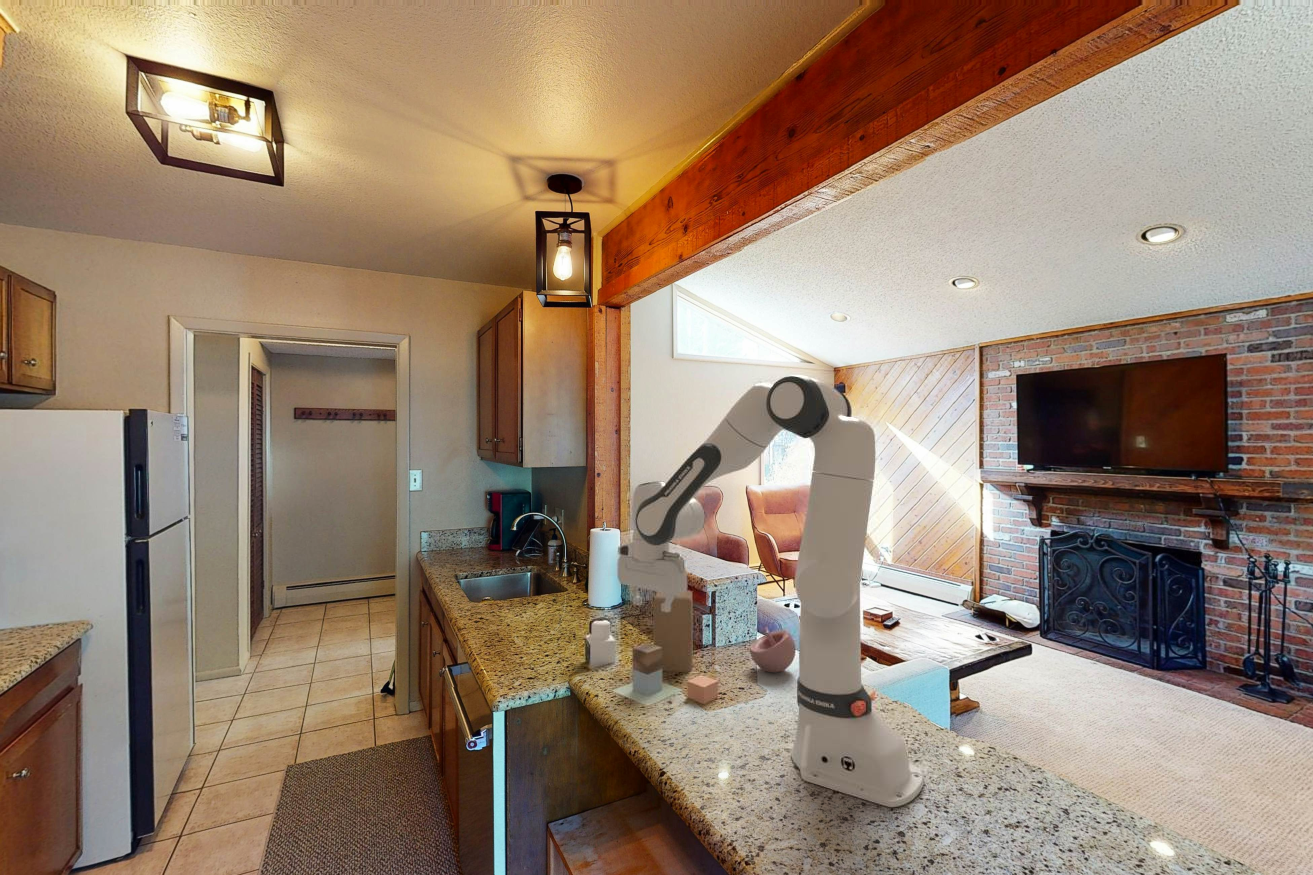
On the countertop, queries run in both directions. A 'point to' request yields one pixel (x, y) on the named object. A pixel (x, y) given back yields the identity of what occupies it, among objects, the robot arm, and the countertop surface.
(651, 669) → the brick
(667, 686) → the plate
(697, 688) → the brick
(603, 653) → the medicine bottle
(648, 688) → the brick
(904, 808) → the countertop surface
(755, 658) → the mortar and pestle
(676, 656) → the block
